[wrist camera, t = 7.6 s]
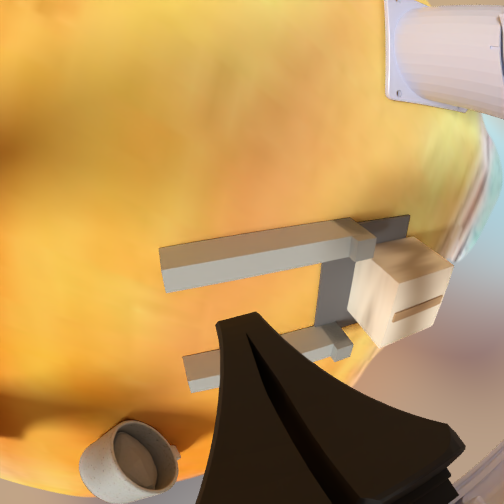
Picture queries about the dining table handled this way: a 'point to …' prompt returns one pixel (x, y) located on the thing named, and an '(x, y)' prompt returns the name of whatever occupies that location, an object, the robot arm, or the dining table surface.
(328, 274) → the mat
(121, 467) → the ceramic mug
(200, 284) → the chute
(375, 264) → the block
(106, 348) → the dining table surface
